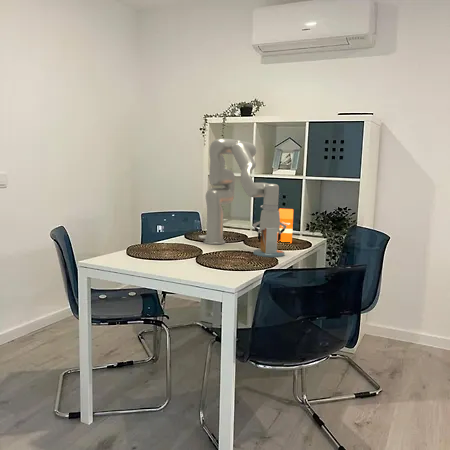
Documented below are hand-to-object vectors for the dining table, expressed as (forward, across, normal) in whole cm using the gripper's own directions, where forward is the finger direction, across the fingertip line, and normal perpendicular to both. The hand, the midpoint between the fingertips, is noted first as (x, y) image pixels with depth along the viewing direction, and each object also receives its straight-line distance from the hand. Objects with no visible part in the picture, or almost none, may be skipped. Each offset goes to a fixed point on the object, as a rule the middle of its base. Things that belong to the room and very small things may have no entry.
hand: (269, 240), depth 244 cm
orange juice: (+7, +10, +41) cm, 43 cm away
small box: (+6, 0, 0) cm, 6 cm away
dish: (+7, 0, 0) cm, 7 cm away
